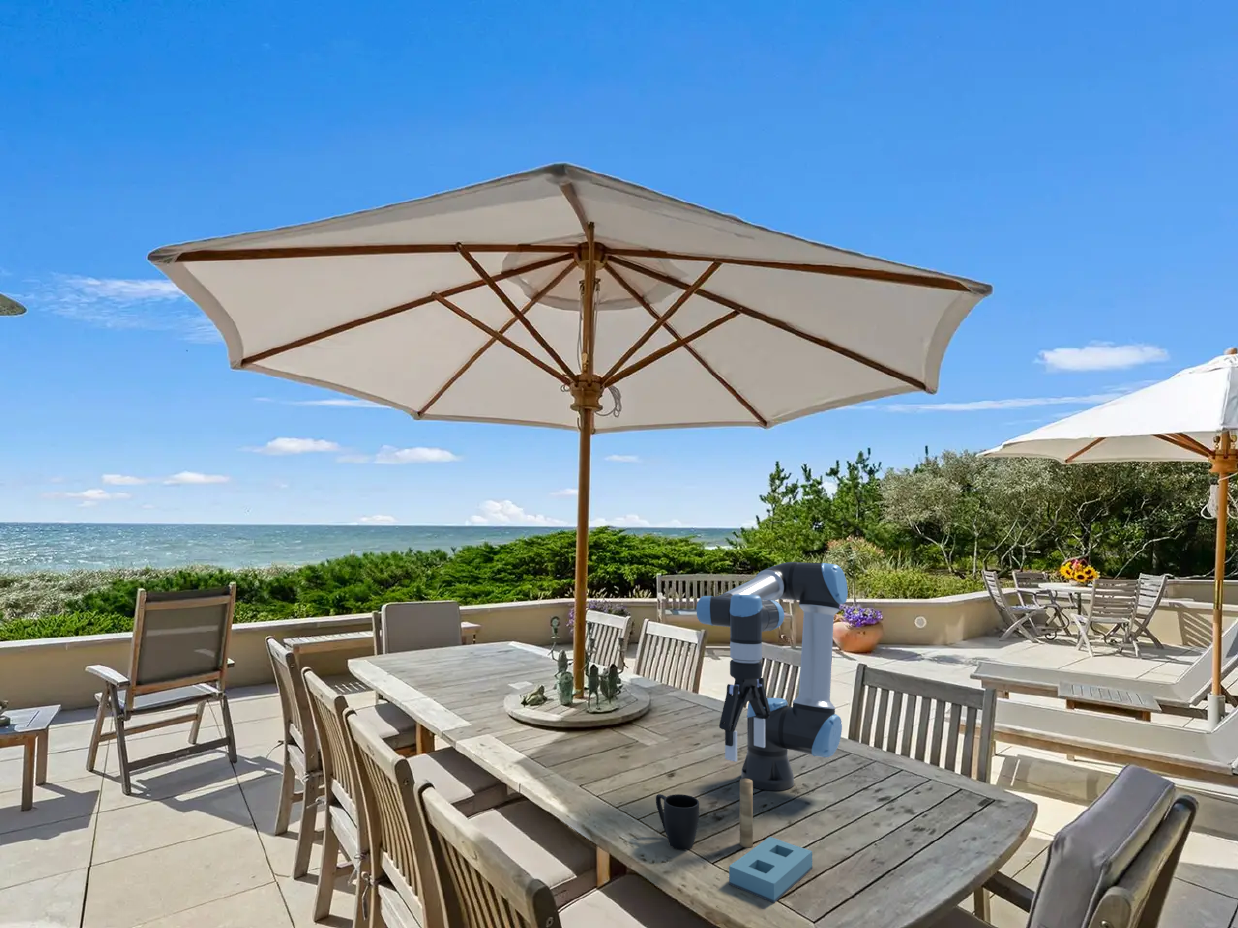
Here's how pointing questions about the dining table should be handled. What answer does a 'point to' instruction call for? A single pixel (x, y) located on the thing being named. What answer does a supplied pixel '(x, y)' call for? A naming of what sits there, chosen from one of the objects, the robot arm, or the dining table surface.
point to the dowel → (746, 813)
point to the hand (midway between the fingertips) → (745, 752)
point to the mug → (679, 819)
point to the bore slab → (770, 869)
